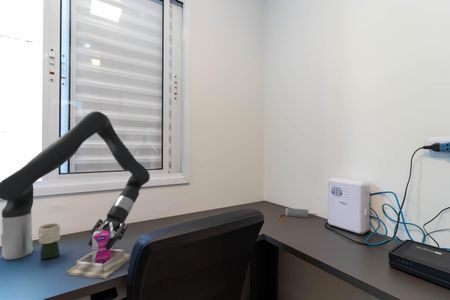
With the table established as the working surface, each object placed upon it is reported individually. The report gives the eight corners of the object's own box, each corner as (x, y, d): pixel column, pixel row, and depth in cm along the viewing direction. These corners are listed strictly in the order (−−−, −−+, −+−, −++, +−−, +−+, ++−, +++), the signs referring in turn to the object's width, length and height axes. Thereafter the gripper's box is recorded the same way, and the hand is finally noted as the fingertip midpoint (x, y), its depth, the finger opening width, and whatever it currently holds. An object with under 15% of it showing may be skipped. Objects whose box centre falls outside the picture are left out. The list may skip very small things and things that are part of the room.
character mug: (50, 250, 102) (49, 221, 101) (67, 250, 102) (66, 221, 102) (30, 263, 91) (29, 230, 91) (49, 263, 91) (48, 230, 91)
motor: (280, 213, 153) (280, 206, 152) (316, 216, 146) (316, 209, 145) (276, 231, 131) (276, 223, 130) (319, 236, 124) (319, 227, 123)
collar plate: (66, 274, 83) (65, 264, 83) (98, 253, 99) (98, 245, 99) (105, 279, 80) (105, 269, 80) (132, 256, 96) (132, 248, 96)
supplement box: (92, 267, 86) (91, 237, 85) (94, 260, 91) (93, 231, 91) (109, 264, 88) (108, 234, 88) (110, 257, 93) (109, 229, 93)
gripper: (103, 203, 98) (78, 240, 88) (129, 206, 93) (106, 246, 83) (113, 212, 104) (91, 248, 93) (139, 215, 98) (118, 254, 88)
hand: (98, 247), depth 88 cm, fingers open, 8 cm apart
